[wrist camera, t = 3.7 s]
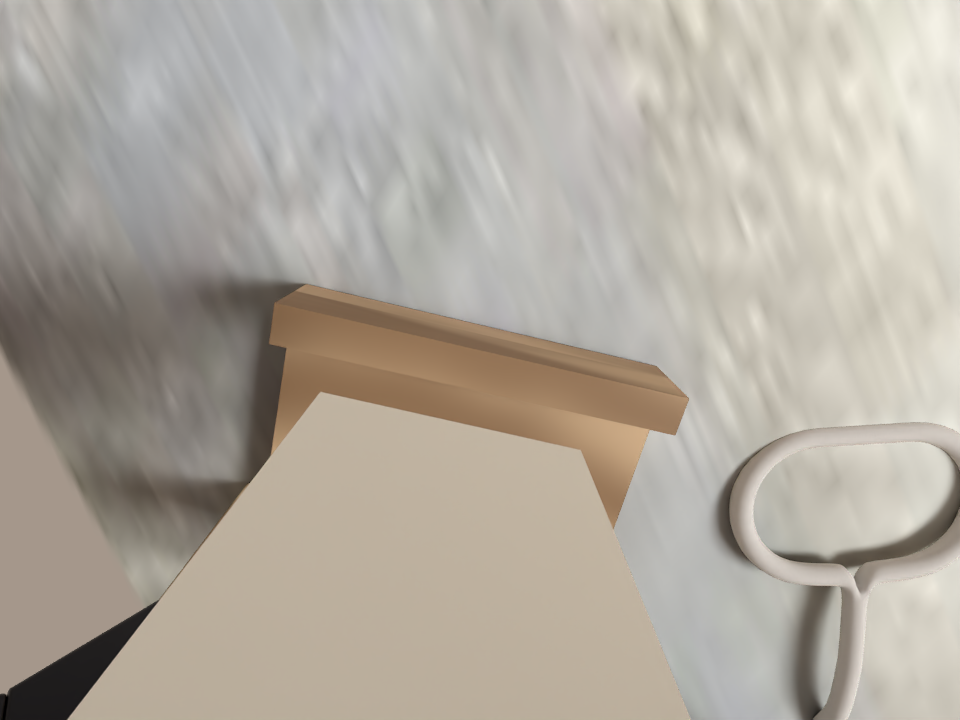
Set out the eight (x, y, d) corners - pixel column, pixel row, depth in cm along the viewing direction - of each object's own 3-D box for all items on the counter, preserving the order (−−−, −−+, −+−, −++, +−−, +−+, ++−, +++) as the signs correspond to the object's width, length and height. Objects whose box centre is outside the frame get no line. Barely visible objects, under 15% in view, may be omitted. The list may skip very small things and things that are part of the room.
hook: (701, 829, 26) (700, 411, 23) (905, 818, 26) (932, 397, 23) (787, 1047, 19) (803, 476, 15) (1071, 1032, 18) (1144, 455, 15)
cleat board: (602, 591, 22) (648, 737, 16) (242, 520, 21) (153, 649, 15) (684, 372, 19) (774, 453, 13) (275, 276, 18) (182, 319, 12)
